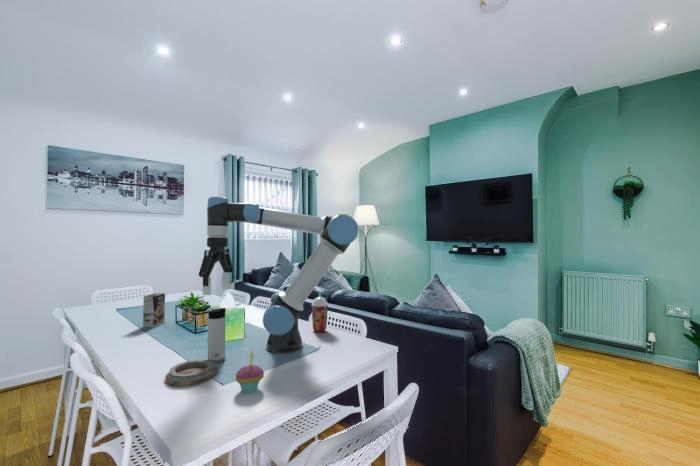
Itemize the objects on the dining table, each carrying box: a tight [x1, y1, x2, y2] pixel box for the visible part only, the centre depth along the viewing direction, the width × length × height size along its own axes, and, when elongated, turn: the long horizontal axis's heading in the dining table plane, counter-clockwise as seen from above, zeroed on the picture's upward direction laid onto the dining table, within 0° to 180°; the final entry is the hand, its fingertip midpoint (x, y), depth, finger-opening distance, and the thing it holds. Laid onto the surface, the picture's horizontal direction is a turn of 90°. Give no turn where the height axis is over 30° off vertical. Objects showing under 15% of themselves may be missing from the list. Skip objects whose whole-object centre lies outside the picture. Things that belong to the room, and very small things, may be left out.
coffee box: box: [142, 292, 166, 328], centre depth 170 cm, size 9×6×16 cm
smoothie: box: [310, 291, 329, 334], centre depth 162 cm, size 8×8×20 cm
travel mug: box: [207, 307, 227, 364], centre depth 124 cm, size 6×7×20 cm
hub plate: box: [164, 358, 218, 387], centre depth 111 cm, size 16×16×3 cm
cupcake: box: [235, 348, 265, 394], centre depth 101 cm, size 9×8×12 cm
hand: (216, 291), depth 124 cm, fingers open, 13 cm apart
